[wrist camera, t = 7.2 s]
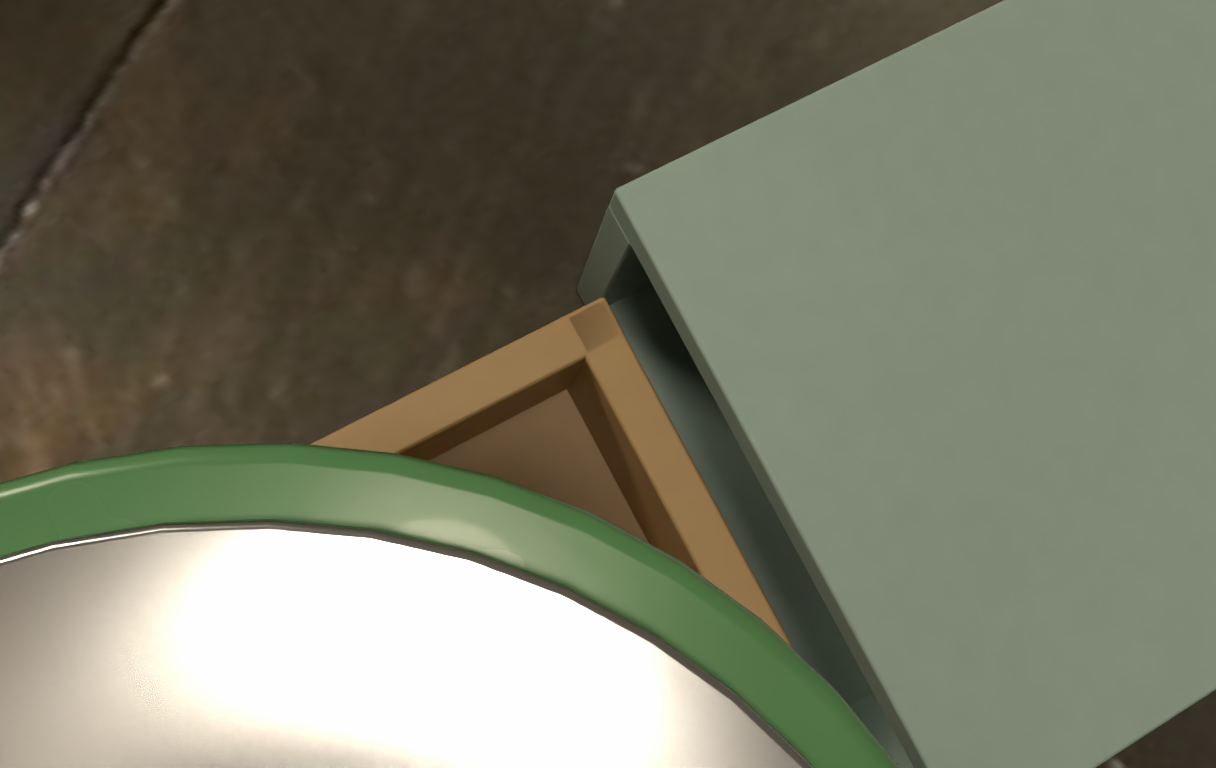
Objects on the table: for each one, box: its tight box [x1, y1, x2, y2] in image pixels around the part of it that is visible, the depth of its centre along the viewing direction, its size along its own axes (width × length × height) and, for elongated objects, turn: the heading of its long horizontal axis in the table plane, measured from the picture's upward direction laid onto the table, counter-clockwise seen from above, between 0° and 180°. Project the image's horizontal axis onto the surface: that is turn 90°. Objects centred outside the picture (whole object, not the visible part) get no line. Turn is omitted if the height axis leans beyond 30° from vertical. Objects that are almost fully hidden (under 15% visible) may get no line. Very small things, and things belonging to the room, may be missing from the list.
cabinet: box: [577, 0, 1216, 768], centre depth 21 cm, size 16×12×7 cm
